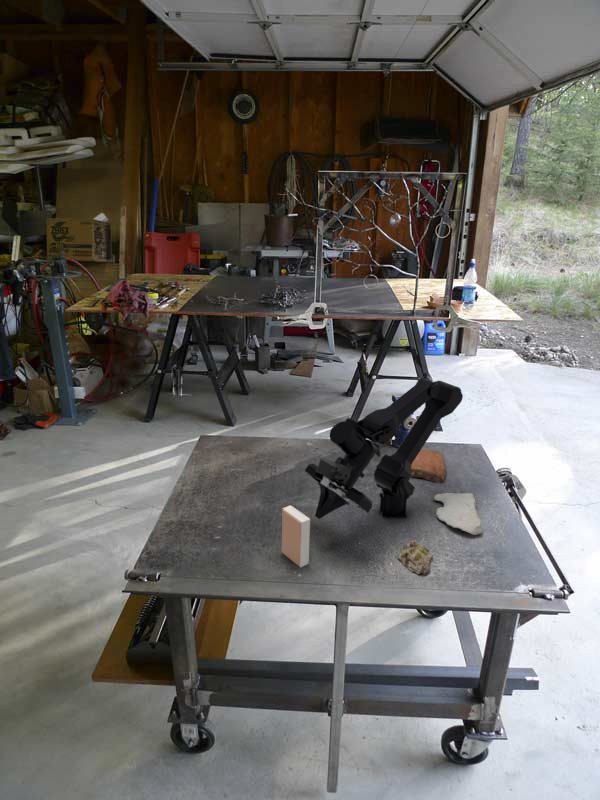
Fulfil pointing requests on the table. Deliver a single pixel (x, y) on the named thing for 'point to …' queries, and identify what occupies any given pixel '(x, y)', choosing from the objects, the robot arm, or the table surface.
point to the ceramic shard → (429, 466)
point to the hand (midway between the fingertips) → (317, 517)
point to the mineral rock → (415, 557)
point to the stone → (459, 512)
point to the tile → (295, 535)
